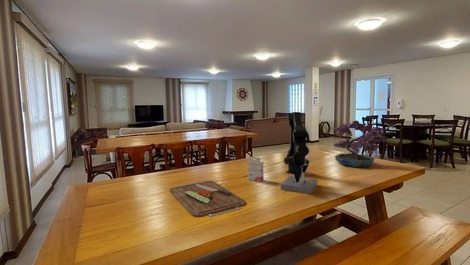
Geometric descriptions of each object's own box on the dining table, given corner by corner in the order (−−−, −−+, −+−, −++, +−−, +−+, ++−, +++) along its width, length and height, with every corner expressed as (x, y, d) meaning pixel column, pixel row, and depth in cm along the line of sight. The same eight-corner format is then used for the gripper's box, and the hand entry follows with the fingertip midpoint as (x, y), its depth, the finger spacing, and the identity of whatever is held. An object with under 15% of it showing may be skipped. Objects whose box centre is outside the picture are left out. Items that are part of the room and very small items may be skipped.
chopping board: (166, 189, 141) (166, 184, 141) (210, 181, 155) (210, 176, 154) (196, 221, 103) (196, 214, 102) (251, 207, 116) (251, 200, 116)
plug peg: (296, 185, 143) (297, 171, 142) (303, 186, 141) (304, 172, 140) (294, 187, 139) (295, 173, 138) (302, 188, 137) (302, 174, 136)
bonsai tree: (325, 162, 194) (327, 120, 190) (349, 158, 206) (351, 118, 202) (367, 173, 163) (370, 123, 159) (393, 167, 175) (396, 121, 171)
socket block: (289, 181, 151) (289, 176, 150) (317, 184, 143) (317, 179, 143) (280, 189, 137) (280, 183, 137) (310, 194, 129) (311, 188, 129)
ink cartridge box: (263, 179, 154) (263, 156, 152) (260, 182, 150) (260, 157, 148) (251, 177, 158) (250, 154, 156) (247, 180, 154) (247, 156, 152)
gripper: (290, 148, 149) (290, 173, 151) (280, 154, 133) (279, 182, 135) (309, 149, 144) (309, 176, 146) (301, 156, 128) (300, 186, 130)
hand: (299, 180), depth 139 cm, fingers open, 9 cm apart
